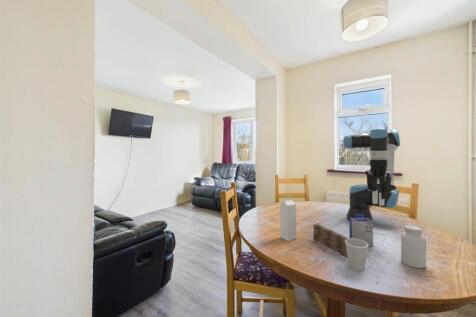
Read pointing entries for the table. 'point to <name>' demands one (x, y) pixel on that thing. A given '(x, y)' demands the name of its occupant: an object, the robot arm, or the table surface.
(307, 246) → the table surface
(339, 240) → the walnut board
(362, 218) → the ink cartridge box
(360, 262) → the dixie cup
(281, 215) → the milk
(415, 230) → the pill bottle
